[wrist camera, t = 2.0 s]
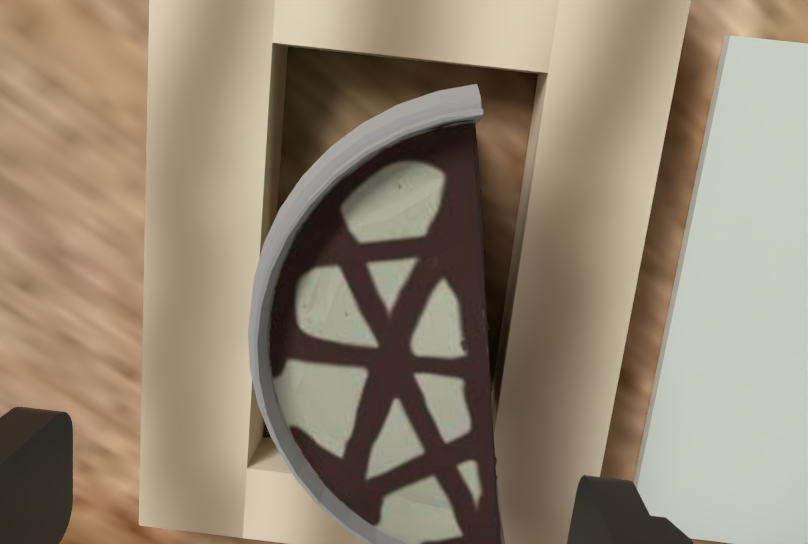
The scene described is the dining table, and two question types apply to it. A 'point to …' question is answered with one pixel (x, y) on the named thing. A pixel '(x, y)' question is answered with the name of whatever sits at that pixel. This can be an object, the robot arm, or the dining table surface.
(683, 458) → the mat
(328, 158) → the patterned half cylinder
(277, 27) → the frame
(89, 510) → the dining table surface
